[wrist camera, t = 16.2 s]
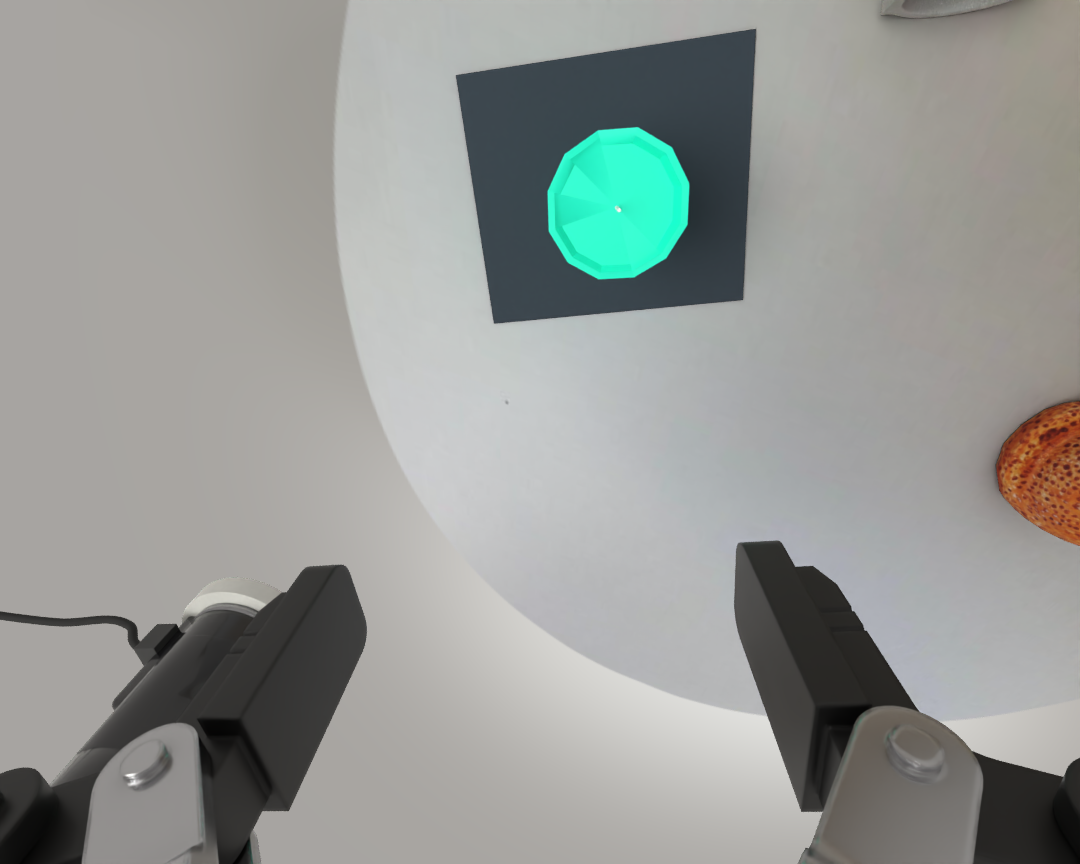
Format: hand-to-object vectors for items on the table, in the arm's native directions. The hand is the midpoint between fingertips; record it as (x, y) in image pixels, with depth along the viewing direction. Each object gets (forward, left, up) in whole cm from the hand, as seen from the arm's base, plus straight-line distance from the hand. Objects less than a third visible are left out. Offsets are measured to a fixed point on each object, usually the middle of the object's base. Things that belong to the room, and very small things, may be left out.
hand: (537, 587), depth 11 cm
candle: (+3, +6, -27) cm, 27 cm away
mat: (+3, +6, -26) cm, 27 cm away
